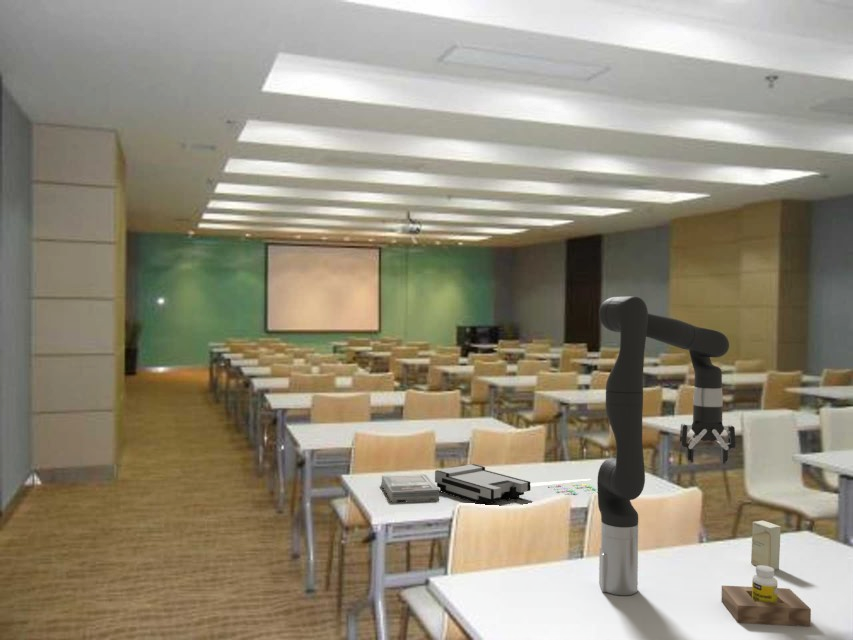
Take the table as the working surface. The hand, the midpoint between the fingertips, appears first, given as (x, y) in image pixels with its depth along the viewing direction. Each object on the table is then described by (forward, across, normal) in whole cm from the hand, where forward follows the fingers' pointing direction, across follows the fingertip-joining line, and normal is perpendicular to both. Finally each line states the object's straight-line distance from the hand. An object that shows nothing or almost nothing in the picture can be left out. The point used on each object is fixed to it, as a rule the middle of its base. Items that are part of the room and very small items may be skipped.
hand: (707, 462), depth 196 cm
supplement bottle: (+29, +6, -27) cm, 40 cm away
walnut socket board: (+30, +6, -27) cm, 41 cm away
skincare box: (+30, +18, +6) cm, 36 cm away
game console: (+31, -64, +74) cm, 102 cm away
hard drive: (+31, -92, +74) cm, 122 cm away
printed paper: (+31, -26, +87) cm, 96 cm away
